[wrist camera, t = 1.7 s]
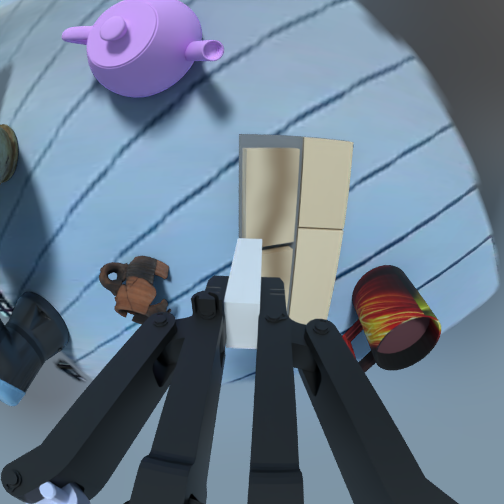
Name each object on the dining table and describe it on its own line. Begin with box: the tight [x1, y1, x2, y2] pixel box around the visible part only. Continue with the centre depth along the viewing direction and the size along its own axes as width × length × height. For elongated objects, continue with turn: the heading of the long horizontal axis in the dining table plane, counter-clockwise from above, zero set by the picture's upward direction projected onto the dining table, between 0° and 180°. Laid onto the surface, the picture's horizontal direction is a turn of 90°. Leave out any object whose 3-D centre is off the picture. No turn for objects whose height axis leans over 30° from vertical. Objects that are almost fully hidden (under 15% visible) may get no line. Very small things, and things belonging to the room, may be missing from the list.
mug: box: [342, 265, 441, 373], centre depth 35 cm, size 10×14×12 cm
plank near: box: [242, 148, 300, 247], centre depth 31 cm, size 6×11×1 cm, turn 178°
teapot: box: [62, 0, 224, 97], centre depth 21 cm, size 14×20×11 cm
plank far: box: [261, 246, 293, 310], centre depth 36 cm, size 6×11×1 cm, turn 178°
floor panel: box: [239, 134, 353, 325], centre depth 35 cm, size 13×26×2 cm, turn 179°
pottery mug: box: [99, 256, 171, 324], centre depth 38 cm, size 12×10×8 cm
